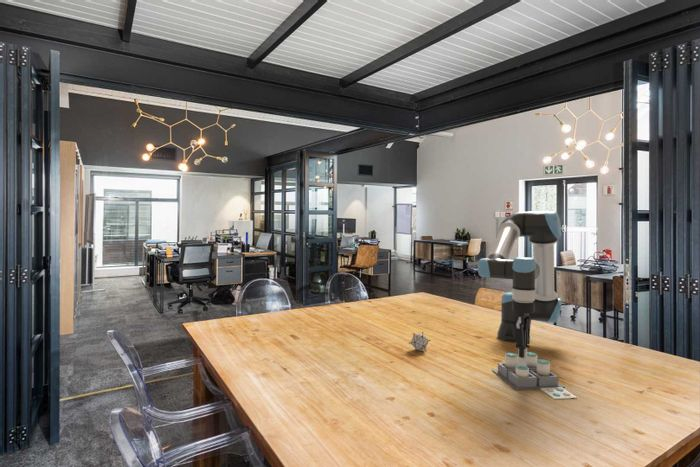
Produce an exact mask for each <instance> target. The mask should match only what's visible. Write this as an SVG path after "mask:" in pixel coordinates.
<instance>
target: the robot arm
mask: <svg viewBox="0 0 700 467" xmlns="http://www.w3.org/2000/svg"><path fill="white" fill-rule="evenodd" d="M519 237H520V238H521V237H525V238H529V239H528V240H529V243H530V244H532V252H533V257H530V256H529V257H527V256H526V257H525V256H520V257H518V256H517V257H514V258H513V259H509V258H510V255H511V252H512V249H513V246H514V244H515V242H516V240H518V239H519ZM561 237H562V224H561V220H560V216H559V214H558V213H557V212H556V211H547V210H540V211H537V210H536V211H517V212H515V213H512V214H510V215H508V216H507V217H506V218H504V219H503V220H502V221H501V223H500V224H499V226H498V229H497V235H496V237H495V240H494V243H493V244H492V247H491V249H490V252H489V254H488V257H485V258H480V259H479V260H478V263H477V272H478V275H479V276H480V277H482V278H488V279H490V278H491V279H501V280H502V279H505V280H512V289H511V290H510V291H508V292H504V293H502V295H501V302H500V303H501V308H500V309H501V313H500V314H501V320H500V321H501V322H500V324H499V327H498V330H497V335H496V337H497V338H498V339H499V340H501V341H504V342H510V343H515V348H517V364H518V365H519V366H524V367H526V366H527V352H528V349H529V348H530V347H531V346H530V341H531V324H532V321H537V322H545V323H557V322H558V321H559V317H560V314H561V308H562V307H561V306H562V301H563V300H562V298H561V297H559V294H558V293H557V292H556V291H555V249H554V248H555V244H556V243H557V242H558V239H559V238H561Z"/></svg>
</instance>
